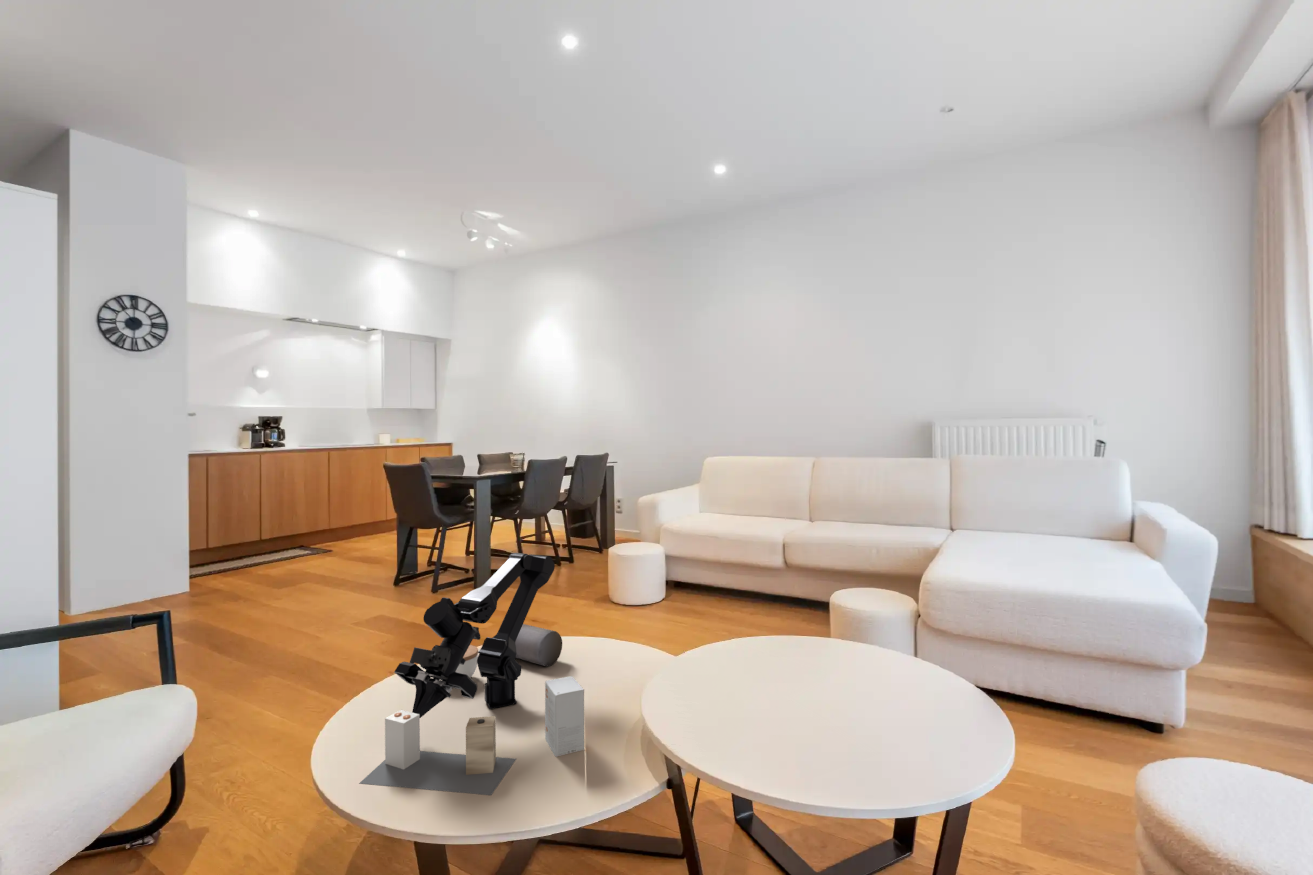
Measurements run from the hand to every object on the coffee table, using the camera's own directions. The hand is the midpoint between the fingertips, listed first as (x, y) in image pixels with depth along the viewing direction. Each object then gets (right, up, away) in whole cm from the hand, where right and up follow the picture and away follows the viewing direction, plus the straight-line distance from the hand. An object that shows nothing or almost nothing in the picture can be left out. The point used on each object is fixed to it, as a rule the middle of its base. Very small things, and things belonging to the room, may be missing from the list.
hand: (413, 719), depth 119 cm
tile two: (-1, -7, -2) cm, 8 cm away
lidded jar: (-4, -8, +38) cm, 39 cm away
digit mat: (+8, -8, -6) cm, 12 cm away
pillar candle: (+20, -2, +47) cm, 51 cm away
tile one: (+15, -7, -5) cm, 17 cm away
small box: (+30, -8, +4) cm, 31 cm away
